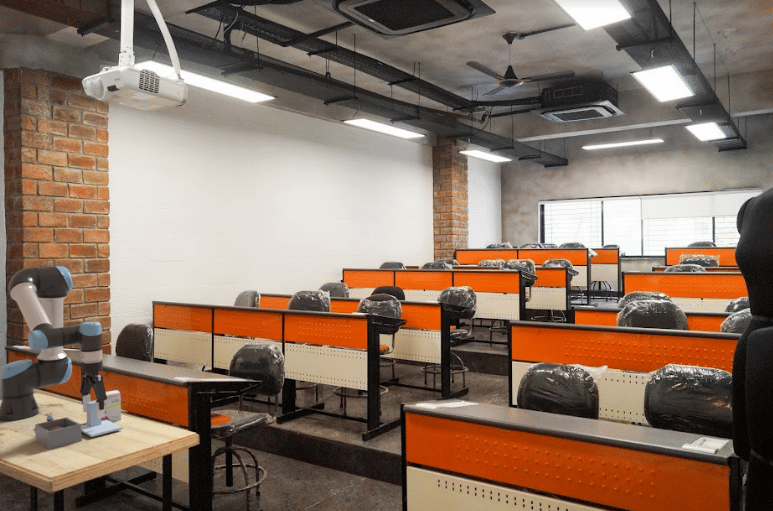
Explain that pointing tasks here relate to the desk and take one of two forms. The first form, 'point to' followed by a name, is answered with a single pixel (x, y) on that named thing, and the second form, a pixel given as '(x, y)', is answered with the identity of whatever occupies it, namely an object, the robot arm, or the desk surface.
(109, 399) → the ink box
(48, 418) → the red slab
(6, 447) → the desk surface
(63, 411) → the desk surface
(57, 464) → the desk surface
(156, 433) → the desk surface
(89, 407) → the lid
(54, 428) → the walnut part
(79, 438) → the tub
